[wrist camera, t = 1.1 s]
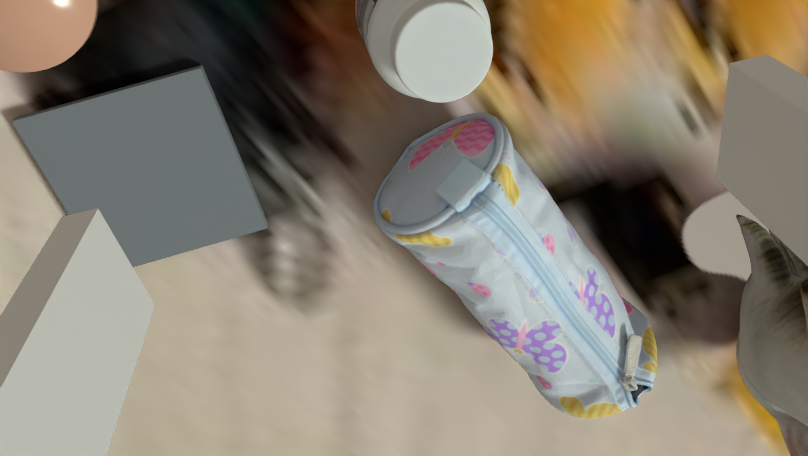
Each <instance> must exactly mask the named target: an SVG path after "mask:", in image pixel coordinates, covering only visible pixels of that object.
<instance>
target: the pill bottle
mask: <svg viewBox="0 0 808 456" xmlns="http://www.w3.org/2000/svg"><path fill="white" fill-rule="evenodd" d="M355 13H356V20H357V24H358V28H359V31H360V34H361V36H362V38H363V40H364V43H365V45H366V47H367V50H368V52H369V55H370V58H371V60H372V62H373V65H374V67H375V69H376V70H377V72H378V73H379V74H380V76H381V77H382V78H383V79H384V80H385V81H386V82H387V83H388V84H389V85H390V86H391V87H392V88H394V89H395V90H397V91H398V92H400V93H402V94H405V95H408V96H411V97H415V98H421V99H424V100H426V101H430V102H440V103H442V102H450V101H454V100H457V99H460V98H462V97H464V96H466V95H467V94H469V93H470V92H471V91H473V90H474V89H475V88H476V87H477V86H478V85H479V84H480V83H481V81H482V80H483V79H484V77H485V76H486V74H487V72H488V69H489V67H490V64H491V60H492V55H493V42H492V37H491V27H490V20H489V15H488V12H487V9H486V7H485V5H484V3H483V1H482V0H356V4H355Z"/></svg>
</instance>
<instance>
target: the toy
mask: <svg viewBox="0 0 808 456" xmlns="http://www.w3.org/2000/svg"><path fill="white" fill-rule="evenodd" d="M736 218H737V220H738V222H739V224H740V227H741V231H742V234H743V237H744V240H745V243H746V246H747V250H748V253H749V257H750V261H751V268H752V273H751V275H750V277H749V278H748V280H747V282H746V284H745V287H744V290H743V295H742V301H741V308H740V331H739V334H738V339H737V344H736V358H737V365H738V369H739V373H740V375H741V377H742V380H743V382H744V384H745V385H746V387H747V389H748V390H749V392H750V393H751V394H752V396H753V397H754V398H755V399H756V400H757V401H758V402H759V403H760V404H761V405H762V406H763V407H764V408H765V409H766V410H767V411H768V412H769V413H770V414H771V415H772V416H773V417H774V418H775V419H776V421H777V422H778V424H779V427H780V429H781V432H782V435H783V438H784V441H785V444H786V446H787V448H788V451H789V453H790V455H791V456H808V266H807V265H806V264H805V263H804V262H803V261H802V260H801V259H800V258H799V257H798V256H797V255H795V254H794V253H793V252H792V251H791V250H790V249H789V248H788V247H787V246H786V245H785V244H784V243H783V242H782V241H781V240H780V239H779V238H778V237H777V236H776V235H774V234H773V233H772V232H771V231H770V230H769V232H770V234H771V235H770V234H769V233H768V231H766V229H764V228H763V227H762V226H760V225H759V224H758V223H756V222H755V221H753V220H750V219H748V218H746V217H744V216H741V215H737V216H736Z"/></svg>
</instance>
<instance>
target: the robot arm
mask: <svg viewBox="0 0 808 456" xmlns="http://www.w3.org/2000/svg"><path fill="white" fill-rule="evenodd" d="M716 179H717V180H718V181H719V182H720V183H721V184H722V185H723V186H724V187H725V188H726V189H727V190H728V191H729V192H730V193H731V194H732V195H734V196H735V197H736V198H737V199H738V200H739V201H740V202H741V203H742V204H743V205H744V206H745V207H746V208H747V209H748V210H749V211H750V212H751V213H752V214H753V215H755V216H756V217H757V218H758V219H759V220H760V221H761V222H762V223H763V224H764V225H765V226H766V227H767V228H768V229H769V230H770V231H771V232H772V233H773V234H774V235H776V236H777V237H778V238H779V239H780V240H781V241H782V242H783V243H784V244H785V245H786V246H787V247H788V248H789V249H790V250H791V251H792V252H793V253H794V254H795V255H797V256H798V257H799V258H800V259H801V260H802V261H803V262H804V263H805V264H806V265H807V266H808V77H806V76H804V75H802V74H800V73H799V72H797V71H795V70H793V69H792V68H790V67H788V66H786V65H785V64H783V63H781V62H779V61H778V60H776V59H774V58H772V57H770V56H769V55H764V56H759V57H755V58H751V59H746V60H742V61H738V62H733V63H730V64H729V73H728V81H727V90H726V98H725V107H724V115H723V124H722V132H721V141H720V149H719V158H718V166H717V175H716ZM154 308H155V305H154V303H153V301H152V299H151V298H150V296H149V294H148V293H147V291H146V289H145V287H144V286H143V284H142V282H141V281H140V279H139V277H138V275H137V274H136V272H135V270H134V269H133V267H132V265H131V264H130V262H129V260H128V258H127V257H126V255H125V253H124V252H123V250H122V248H121V246H120V245H119V243H118V241H117V240H116V238H115V236H114V235H113V233H112V231H111V229H110V228H109V226H108V224H107V223H106V221H105V219H104V217H103V216H102V214H101V212H100V211H99V209H98V208H97V209H93V210H89V211H84V212H80V213H76V214H71V215H67V216H63V217H62V218H61V219H60V221H59V222H58V224H57V226H56V227H55V229H54V230H53V232H52V234H51V235H50V237H49V239H48V240H47V242H46V243H45V245H44V247H43V248H42V250H41V251H40V253H39V255H38V256H37V258H36V260H35V261H34V263H33V264H32V266H31V268H30V269H29V271H28V272H27V274H26V276H25V277H24V279H23V281H22V282H21V284H20V285H19V287H18V289H17V290H16V292H15V293H14V295H13V297H12V298H11V300H10V302H9V303H8V305H7V306H6V308H5V310H4V311H3V313H2V314H1V316H0V456H106V455H107V452H108V449H109V446H110V443H111V440H112V437H113V434H114V431H115V428H116V424H117V421H118V418H119V415H120V412H121V409H122V406H123V403H124V400H125V397H126V394H127V391H128V388H129V385H130V381H131V378H132V375H133V372H134V369H135V366H136V363H137V360H138V357H139V354H140V351H141V348H142V345H143V341H144V338H145V335H146V332H147V329H148V326H149V323H150V320H151V317H152V314H153V311H154Z"/></svg>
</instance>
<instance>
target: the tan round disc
mask: <svg viewBox="0 0 808 456" xmlns="http://www.w3.org/2000/svg"><path fill="white" fill-rule="evenodd" d="M98 9H99V0H0V70H4V71H10V72H35V71H40V70H45V69H48V68H51V67H54V66H56V65H58V64H60V63H62V62H64V61H66V60H67V59H68V58H70V57H71V56H72V55H74V54H75V53H76V52H77V51H78V50H79V49H80V48H81V47H82V46H83V45H84V44H85V43H86V41H87V40H88V38H89V37H90V35H91V33H92V31H93V29H94V27H95V23H96V20H97V17H98Z"/></svg>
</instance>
